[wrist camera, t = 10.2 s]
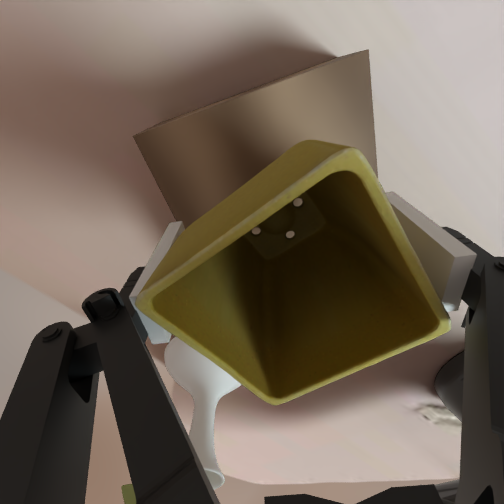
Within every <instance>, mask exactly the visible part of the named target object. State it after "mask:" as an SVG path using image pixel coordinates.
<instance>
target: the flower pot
mask: <svg viewBox="0 0 504 504" xmlns="http://www.w3.org/2000/svg"><path fill="white" fill-rule="evenodd" d="M296 198H300V199H302V204H301V205H300V206H295V205H294V204H293V201H294V200H295V199H296ZM255 227H258V228H259V229H260V230H261V231H260V233H259V234H253V233H252V229H253V228H255ZM289 231H293V232H294V236H293V237H292V238H287V237H286V233H287V232H289ZM135 306H136V307H137V308H138V309H139V310H140V311H141V312H142V313H143V314H144V315H145V316H147V317H148V318H150V319H151V320H152V321H154V322H155V323H156V324H158V325H159V326H161V327H162V328H164V329H165V330H166V331H168V332H169V333H171V334H172V335H174V336H176V337H177V338H179V339H180V340H181V341H183V342H184V343H186V344H187V345H188V346H190V347H191V348H193V349H194V350H196V351H197V352H199V353H200V354H202V355H203V356H205V357H206V358H208V359H209V360H210V361H212V362H213V363H215V364H216V365H217V366H219V367H220V368H221V369H223V370H224V371H225V372H227V373H228V374H229V375H230V376H232V377H233V378H234V379H235V380H236V381H238V382H239V383H240V384H242V385H243V386H244V387H246V388H247V389H248V390H250V391H251V392H252V393H254V394H255V395H256V396H257V397H259V398H260V399H262V400H264V401H265V402H267V403H269V404H271V405H274V406H276V405H280V404H283V403H286V402H288V401H291V400H293V399H295V398H297V397H300V396H302V395H304V394H306V393H309V392H311V391H313V390H316V389H318V388H320V387H322V386H325V385H327V384H329V383H331V382H333V381H336V380H338V379H341V378H343V377H346V376H348V375H350V374H352V373H355V372H357V371H359V370H361V369H364V368H366V367H369V366H371V365H374V364H376V363H378V362H380V361H382V360H385V359H387V358H389V357H392V356H394V355H397V354H399V353H402V352H404V351H406V350H408V349H411V348H413V347H415V346H418V345H420V344H423V343H425V342H428V341H430V340H432V339H434V338H436V337H438V336H440V335H442V334H444V333H447V332H448V331H450V329H451V319H450V317H449V314H448V313H447V311H446V309H445V307H444V305H443V304H442V302H441V300H440V298H439V296H438V294H437V292H436V290H435V289H434V287H433V285H432V283H431V281H430V280H429V278H428V276H427V274H426V272H425V270H424V268H423V266H422V264H421V262H420V260H419V258H418V256H417V254H416V253H415V251H414V249H413V248H412V246H411V244H410V242H409V240H408V238H407V236H406V234H405V232H404V230H403V228H402V226H401V224H400V222H399V220H398V218H397V216H396V215H395V213H394V211H393V208H392V206H391V204H390V202H389V200H388V198H387V196H386V194H385V192H384V190H383V188H382V186H381V184H380V182H379V180H378V178H377V177H376V174H375V172H374V171H373V169H372V167H371V166H370V164H369V162H368V161H367V159H366V158H365V156H364V155H363V153H362V152H361V151H360V150H358V149H357V148H355V147H350V146H345V145H340V144H335V143H330V142H325V141H319V140H304V141H301V142H299V143H297V144H296V145H294V146H293V147H291V148H290V149H288V150H287V151H286V152H285V153H283V154H282V155H281V156H280V157H279V158H277V159H276V160H275V161H273V162H272V163H271V164H270V165H268V166H267V167H266V168H264V169H263V170H262V171H261V172H259V173H258V174H257V175H256V176H254V177H253V178H252V179H250V180H249V181H248V182H247V183H245V184H244V185H243V186H241V187H240V188H239V189H237V190H236V191H235V192H233V193H232V194H231V195H230V196H228V197H227V198H226V199H224V200H223V201H222V202H220V203H219V204H218V205H216V206H215V207H214V208H212V209H211V210H209V211H208V212H207V213H205V214H204V215H203V216H201V217H200V218H199V219H197V220H196V221H194V222H193V223H192V224H191V225H190V226H188V227H187V228H186V229H185V230H184V231H183V232H182V233H181V234H180V236H179V237H178V238H177V239H176V241H175V242H174V244H173V245H172V246H171V248H170V249H169V251H168V252H167V253H166V255H165V256H164V258H163V259H162V261H161V262H160V263H159V265H158V266H157V268H156V269H155V271H154V272H153V273H152V275H151V276H150V278H149V279H148V281H147V282H146V284H145V285H144V287H143V288H142V290H141V291H140V293H139V294H138V296H137V298H136V301H135Z"/></svg>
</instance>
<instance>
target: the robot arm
mask: <svg viewBox="0 0 504 504" xmlns="http://www.w3.org/2000/svg"><path fill="white" fill-rule="evenodd" d="M385 194H386V196H387V198H388V200H389V202H390V204H391V206H392V208H393V211H394V213H395V215H396V216H397V218H398V220H399V222H400V224H401V226H402V228H403V230H404V232H405V234H406V236H407V238H408V240H409V242H410V244H411V246H412V248H413V249H414V251H415V253H416V254H417V256H418V258H419V260H420V262H421V264H422V266H423V268H424V270H425V272H426V274H427V276H428V278H429V280H430V281H431V283H432V285H433V287H434V289H435V290H436V292H437V294H438V296H439V298H440V300H441V302H442V304H443V305H444V307H445V309H446V311H456V310H458V308H459V305H460V302H461V299H462V300H463V301H464V302H465V303H466V304H467V305H468V306H469V307H468V309H467V312H466V315H465V317H464V320H463V323H462V326H461V327H464V328H465V351H464V352H462V353H460V354H459V355H457V356H456V357H454V358H453V359H451V360H450V361H449V362H448V363H447V364H446V365H445V366H444V367H443V368H442V369H441V370H440V371H439V373H438V375H437V376H436V379H435V390H436V392H437V393H438V395H439V397H440V398H441V400H442V402H443V403H444V405H445V406H446V407H447V408H448V409H449V410H450V411H451V412H452V413H453V414H454V415H455V416H456V417H457V418H458V419H459V420H460V421H461V422H462V433H461V459H460V479H459V480H454V481H450V482H445V483H441V484H437V485H434V484H432V485H418V486H405V487H391V488H389V489H387V490H385V491H383V492H381V493H378V494H376V495H374V496H372V497H370V498H367V499H365V500H363V501H361V502H359V503H357V504H504V257H494V256H492V255H491V254H489V253H488V252H486V251H485V250H484V249H482V248H481V247H479V246H478V245H477V244H475V243H473V242H472V241H471V240H470V239H468V238H466V237H465V236H464V235H462V234H461V233H460V232H458V231H456V230H453V229H451V228H448V227H440V226H439V225H437V224H436V223H435V222H433V221H432V220H430V219H429V218H428V217H426V216H425V215H424V214H422V213H421V212H420V211H418V210H417V209H416V208H414V207H413V206H412V205H410V204H409V203H408V202H406V201H405V200H404V199H402V198H401V197H400V196H398V195H397V194H396V193H394V192H387V193H385ZM184 230H185V228H184V225H183V222H182V221H178V222H171V223H169V225H168V227H167V228H166V230H165V232H164V234H163V236H162V237H161V239H160V241H159V243H158V245H157V247H156V248H155V250H154V252H153V254H152V256H151V258H150V259H149V261H148V263H147V265H146V266H145V267H138V268H137V269H136V270H135V271H134V272H133V273H131V275H130V276H129V278H128V279H127V282H126V283H125V284H124V286H123V288H122V289H121V291H120V293H118V291H117V290H116V289H114V288H106V289H102V290H99V291H97V292H95V293H93V294H91V295H90V296H89V297H87V298H86V299H85V300H84V302H83V303H82V309H83V310H84V312H85V314H86V315H87V317H88V318H89V320H90V321H91V323H89V324H86V325H83V326H80V327H77V328H74V329H73V328H72V326H71V325H70V324H69V323H68V322H58V323H54V324H52V325H49V326H48V327H46V328H44V329H43V330H42V331H40V332H39V333H38V334H37V335H36V336H35V338H34V339H33V341H32V343H31V346H30V348H29V350H28V353H27V355H26V358H25V360H24V363H23V365H22V368H21V370H20V372H19V375H18V377H17V380H16V382H15V385H14V388H13V390H12V392H11V394H10V397H9V400H8V402H7V404H6V407H5V409H4V412H3V414H2V417H1V419H0V504H85V495H86V486H87V478H88V469H89V460H90V451H91V442H92V433H93V424H94V415H95V407H96V398H97V389H98V381H99V372H101V371H103V370H104V374H105V378H106V382H107V386H108V390H109V394H110V398H111V402H112V406H113V409H114V414H115V417H116V422H117V426H118V429H119V434H120V437H121V441H122V445H123V449H124V453H125V457H126V461H127V465H128V469H129V473H130V477H131V481H132V485H133V489H134V493H135V497H136V504H220V502H219V500H218V498H217V496H216V494H215V492H214V490H213V488H212V485H211V483H210V481H209V479H208V477H207V475H206V473H205V470H204V468H203V466H202V464H201V462H200V460H199V458H198V455H197V453H196V451H195V449H194V447H193V445H192V443H191V440H190V438H189V436H188V434H187V432H186V430H185V428H184V425H183V423H182V421H181V419H180V417H179V415H178V413H177V411H176V408H175V406H174V404H173V402H172V400H171V398H170V396H169V393H168V391H167V389H166V387H165V385H164V383H163V381H162V378H161V376H160V374H159V372H158V370H157V368H156V366H155V364H154V361H153V359H152V357H151V355H150V353H149V351H148V348H147V347H146V345H145V342H146V339H147V336H148V337H149V339H150V341H151V343H152V344H160V343H169V342H170V338H171V335H172V334H171V333H169V332H168V331H166V330H165V329H164V328H162V327H161V326H159V325H158V324H156V323H155V322H154V321H152V320H151V319H150V318H148V317H147V316H145V315H144V314H143V313H142V312H141V311H140V310H139V309H138V308H137V307H136V306H135V301H136V298H137V296H138V294H139V293H140V291H141V290H142V288H143V287H144V285H145V284H146V282H147V281H148V279H149V278H150V276H151V275H152V273H153V272H154V271H155V269H156V268H157V266H158V265H159V263H160V262H161V261H162V259H163V258H164V256H165V255H166V253H167V252H168V251H169V249H170V248H171V246H172V245H173V244H174V242H175V241H176V239H177V238H178V237H179V236H180V234H181V233H182V232H183V231H184ZM465 326H466V327H465ZM264 498H265V504H342V503H339V502H335V501H331V500H327V499H323V498H319V497H315V496H311V495H307V494H297V495H283V496H270V497H264Z"/></svg>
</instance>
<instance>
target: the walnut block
mask: <svg viewBox="0 0 504 504" xmlns="http://www.w3.org/2000/svg"><path fill="white" fill-rule="evenodd" d="M133 137H134V139H135V141H136V143H137V145H138V147H139V149H140V151H141V153H142V155H143V157H144V159H145V161H146V163H147V165H148V167H149V169H150V170H151V172H152V174H153V176H154V178H155V180H156V182H157V184H158V186H159V188H160V190H161V192H162V194H163V196H164V198H165V200H166V202H167V204H168V205H169V207H170V209H171V211H172V213H173V215H174V217H175V219H176V221H177V222H178V221H182V222H183V225H184V228H185V229H186V228H187V227H188V226H190V225H191V224H192V223H193V222H194V221H196V220H197V219H199V218H200V217H201V216H203V215H204V214H205V213H207V212H208V211H209V210H211V209H212V208H214V207H215V206H216V205H218V204H219V203H220V202H222V201H223V200H224V199H226V198H227V197H228V196H230V195H231V194H232V193H233V192H235V191H236V190H237V189H239V188H240V187H241V186H243V185H244V184H245V183H247V182H248V181H249V180H250V179H252V178H253V177H254V176H256V175H257V174H258V173H259V172H261V171H262V170H263V169H264V168H266V167H267V166H268V165H270V164H271V163H272V162H273V161H275V160H276V159H277V158H279V157H280V156H281V155H282V154H283V153H285V152H286V151H287V150H288V149H290V148H291V147H293V146H294V145H296V144H297V143H299V142H301V141H304V140H319V141H325V142H330V143H335V144H340V145H345V146H350V147H355V148H357V149H358V150H360V151H361V152H362V153H363V155H364V156H365V158H366V159H367V161H368V162H369V164H370V166H371V167H372V169H373V171H374V172H375V174H376V177H377V178H378V172H377V158H376V144H375V131H374V117H373V103H372V90H371V76H370V62H369V49H368V50H364V51H360V52H356V53H352V54H348V55H345V56H341V57H337V58H335V59H332V60H329V61H326V62H324V63H321V64H318V65H316V66H313V67H310V68H308V69H305V70H302V71H299V72H297V73H294V74H291V75H289V76H286V77H283V78H281V79H278V80H275V81H272V82H270V83H267V84H264V85H262V86H259V87H256V88H254V89H251V90H248V91H246V92H243V93H240V94H237V95H235V96H232V97H229V98H227V99H224V100H221V101H219V102H216V103H213V104H210V105H208V106H205V107H202V108H200V109H197V110H194V111H192V112H189V113H186V114H183V115H181V116H178V117H175V118H173V119H170V120H167V121H165V122H162V123H159V124H157V125H155V126H153V127H151V128H149V129H147V130H145V131H143V132H141V133H138V134H136V135H134V136H133ZM293 204H294V205H295V206H300V205H301V204H302V199H300V198H296V199H295V200H294V201H293ZM260 231H261V230H260V229H259V228H258V227H255V228H253V229H252V233H253V234H259V233H260ZM293 236H294V232H293V231H289V232H287V233H286V237H287V238H292V237H293Z"/></svg>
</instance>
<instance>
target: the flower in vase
mask: <svg viewBox="0 0 504 504" xmlns="http://www.w3.org/2000/svg"><path fill="white" fill-rule="evenodd" d="M164 359H165V366H166V369H167V371H168V372H169V374H170V375H171V376H172V378H173V379H174V380H175V381H176V382H177V383H178V384H179V385H180V386H181V387H182V388H184V389H185V390H186V391H188V392H189V393H190V394H191V395H192V397H193V400H194V412H193V419H192V424H191V429H190V432H189V438H190V440H191V443H192V445H193V447H194V449H195V451H196V453H197V455H198V458H199V460H200V462H201V464H202V466H203V468H204V470H205V473H206V475H207V477H208V479H209V481H210V483H211V485H212V488H213V490H214V489H217V488H219V487H220V486H222V485H223V484H224V482H225V479H224V476H223V474H222V472H221V470H220V468H219V466H218V463H217V460H216V455H215V449H214V417H215V410H216V406H217V403H218V401H219V399H220V398H221V397H222V396H224V395H225V394H227V393H229V392H231V391H233V390H235V389H236V388H238V387H240V386H241V385H242V384H240V383H239V382H238V381H236V380H235V379H234V378H233V377H232V376H230V375H229V374H228V373H227V372H225V371H224V370H223V369H221V368H220V367H219V366H217V365H216V364H215V363H213V362H212V361H210V360H209V359H208V358H206V357H205V356H203V355H202V354H200V353H199V352H197V351H196V350H194V349H193V348H191V347H190V346H188V345H187V344H186V343H184V342H183V341H181V340H180V339H179V338H177V337H174V338H173V339H172V340H171V341H170V342H169V343H168V345H167V346H166V349H165V352H164ZM122 494H123V498H124V502H125V504H136V497H135V493H134V489H133V485H132V484H127V485H123V486H122Z"/></svg>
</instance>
